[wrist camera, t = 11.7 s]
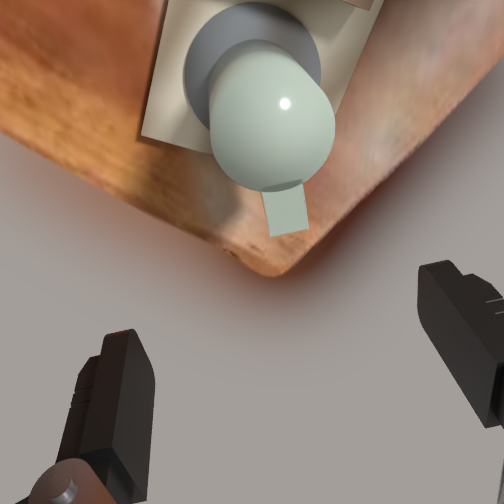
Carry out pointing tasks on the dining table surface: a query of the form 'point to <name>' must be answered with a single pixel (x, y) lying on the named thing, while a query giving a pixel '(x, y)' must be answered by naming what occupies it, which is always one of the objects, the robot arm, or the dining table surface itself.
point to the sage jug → (269, 127)
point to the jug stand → (241, 29)
